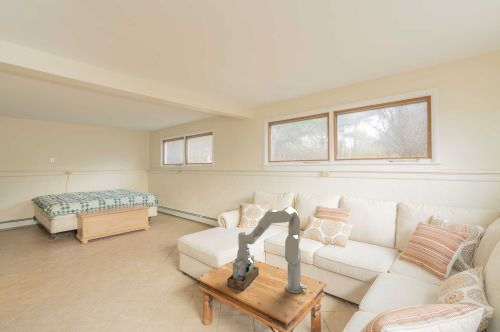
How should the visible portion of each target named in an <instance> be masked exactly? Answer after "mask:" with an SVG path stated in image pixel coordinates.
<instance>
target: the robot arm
mask: <svg viewBox="0 0 500 332" xmlns="http://www.w3.org/2000/svg"><path fill="white" fill-rule="evenodd" d="M280 223H281V224H283V223H284V224H285V223H288V234H287V236H286V238H285V242H284V243H285V244H284V247H285V248H284V259H285V261H286V262H287V284H286V285H285V290H287V292H289V293H292V294H299V293H303V291H304V290H306V291H307V290H308V287H307V285H306V284H303V281H302V275H301V274H302V271H301V269H302V268H301V267H302V252H301V251H302V250H301V248H300V247H299V246H300V245H299V244H301V243H300V242H301V218H300V215H299V213H298V211H296V210H295V208H293V207H291V206H290V207H285V208H283V209H282V210H276V208H275V209H274V208H270V209H269V210H267V211H266V212H265V213H264V215H263V216H262V217H261V219H260V220H259V221H258V224H257V225H256V227H254V229H252V231H251V232H250V233H248V232H245V231H244V232H243V231H241V232H239V233H238V234H237V240H238V244H237V245H238V249H237V255H236V258H235V259H234V262H236V261H238V260H243V261H245V264H246V265H247V267H246V270H247V272H248V271H249V266H250V265H251V264H252V263H253V262H252V261H251V260H250V255H251V252H250V247H249V245H254V244H255V243H256V242H257V241H258V240H259V239H260V237H262V236H263V234H264V233H265V232H266V231H267V230H268V229H269V228H270V227H271V226H272V224H280ZM249 262H250V264H249Z"/></svg>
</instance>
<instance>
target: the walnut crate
mask: <svg viewBox="0 0 500 332" xmlns="http://www.w3.org/2000/svg"><path fill="white" fill-rule="evenodd" d="M259 272H260V271H259V267H258V266H254V271H253V272H252V273H251V274H250V275H249V276H248V277H247V278H246V279H245V280H243V281H242V282H241V281H237V280H233V273H232V274H231V275H230V276H229V277H228V278H227V288H231V289H233V290H234V289H235V290H239V291H243V292H244V291H246V289H247V288H248V287H249V286H250V285H251V283H252V282H253V281H254V280H255V279H256V278H257V277H258V276H259V274H260V273H259Z"/></svg>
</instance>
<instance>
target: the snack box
mask: <svg viewBox="0 0 500 332" xmlns="http://www.w3.org/2000/svg"><path fill="white" fill-rule="evenodd" d="M250 260H251V261H252V262H253V263H252V264H251V265H250V266H249V271H248V272H247V270H246V267H247V265H246V264H245V261H243V260H238V261H234V262H233V263H232V274H233V280H237V281H241V282H242V281H243V280H245V279H246V278H247V277H248V276H249V275H250V274H251V273H252V272H253V271H254V267H255V256H254V255H253V254H250ZM249 264H250V262H249Z"/></svg>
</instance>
